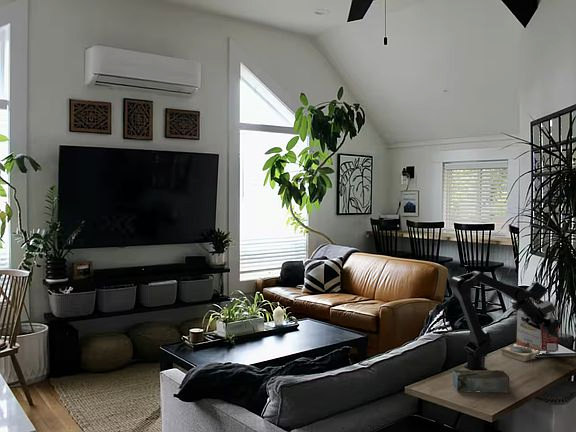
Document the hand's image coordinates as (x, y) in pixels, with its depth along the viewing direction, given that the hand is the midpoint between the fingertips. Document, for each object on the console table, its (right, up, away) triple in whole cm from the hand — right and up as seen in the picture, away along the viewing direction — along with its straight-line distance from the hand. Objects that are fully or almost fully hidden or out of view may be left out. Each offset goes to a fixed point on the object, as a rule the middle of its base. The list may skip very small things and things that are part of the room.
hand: (552, 334), depth 235 cm
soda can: (-1, -7, 0) cm, 7 cm away
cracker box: (0, -11, +20) cm, 23 cm away
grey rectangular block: (-39, -15, -27) cm, 50 cm away
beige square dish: (-9, -12, +11) cm, 18 cm away
